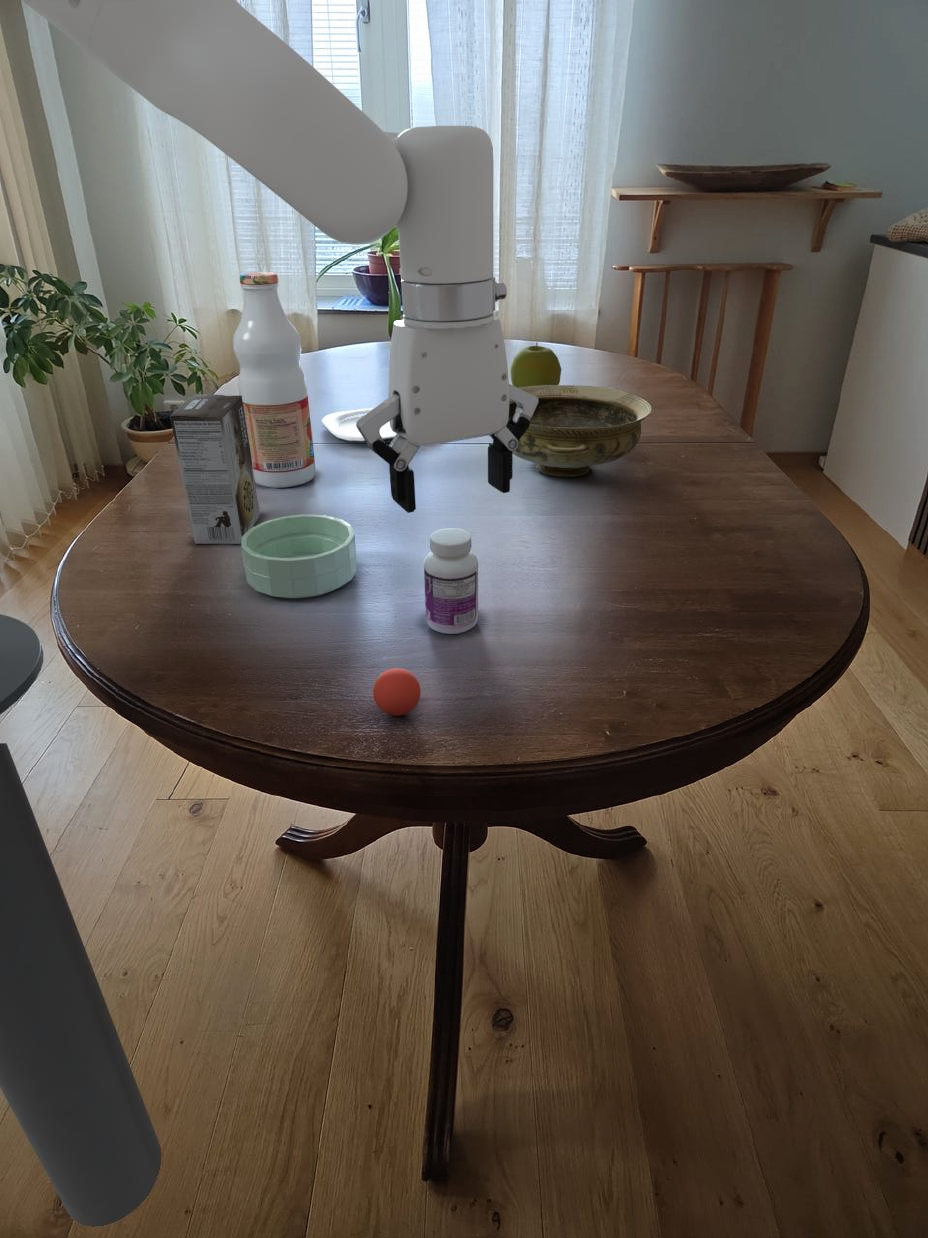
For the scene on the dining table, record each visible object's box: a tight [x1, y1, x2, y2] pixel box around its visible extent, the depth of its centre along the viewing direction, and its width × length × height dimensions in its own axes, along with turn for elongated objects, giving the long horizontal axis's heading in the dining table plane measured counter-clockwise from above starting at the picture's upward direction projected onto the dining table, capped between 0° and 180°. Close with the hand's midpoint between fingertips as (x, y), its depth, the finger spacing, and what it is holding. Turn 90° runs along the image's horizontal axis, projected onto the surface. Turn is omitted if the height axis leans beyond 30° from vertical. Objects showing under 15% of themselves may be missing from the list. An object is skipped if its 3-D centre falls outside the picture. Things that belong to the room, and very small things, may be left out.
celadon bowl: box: [240, 513, 358, 599], centre depth 88 cm, size 12×12×5 cm
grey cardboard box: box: [169, 394, 261, 545], centre depth 97 cm, size 9×6×16 cm
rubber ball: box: [372, 667, 421, 717], centre depth 66 cm, size 4×4×4 cm
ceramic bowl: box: [508, 384, 653, 478], centre depth 117 cm, size 30×24×10 cm
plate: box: [321, 407, 397, 444], centre depth 137 cm, size 18×18×2 cm
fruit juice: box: [232, 271, 316, 489], centre depth 110 cm, size 9×9×28 cm
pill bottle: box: [423, 527, 479, 635], centre depth 78 cm, size 5×5×10 cm
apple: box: [509, 341, 562, 388], centre depth 151 cm, size 10×10×11 cm
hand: (453, 497), depth 73 cm, fingers open, 9 cm apart
